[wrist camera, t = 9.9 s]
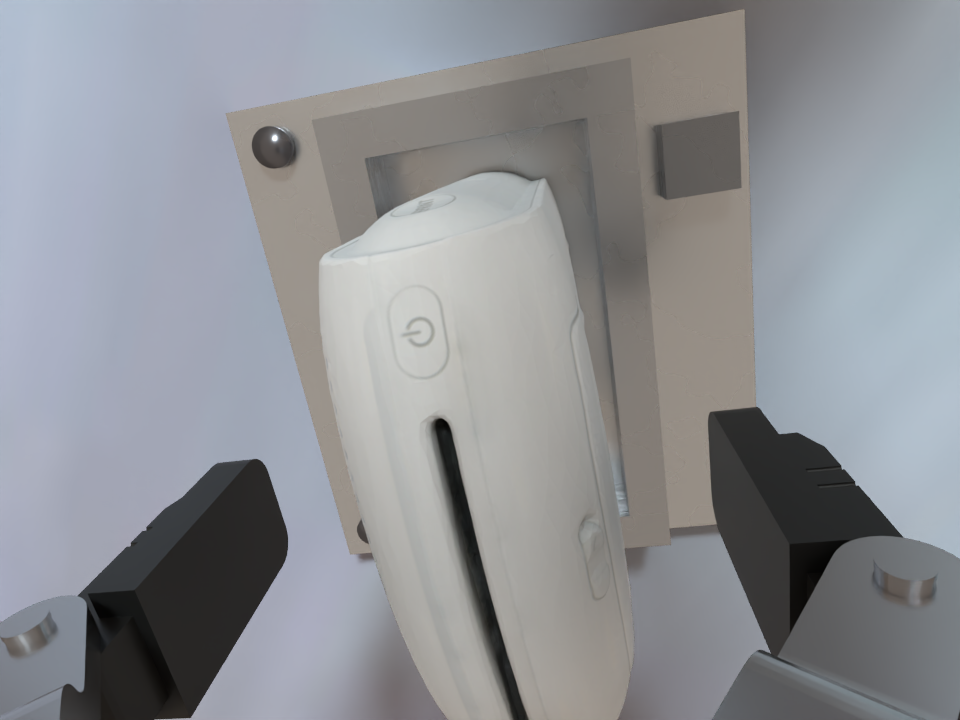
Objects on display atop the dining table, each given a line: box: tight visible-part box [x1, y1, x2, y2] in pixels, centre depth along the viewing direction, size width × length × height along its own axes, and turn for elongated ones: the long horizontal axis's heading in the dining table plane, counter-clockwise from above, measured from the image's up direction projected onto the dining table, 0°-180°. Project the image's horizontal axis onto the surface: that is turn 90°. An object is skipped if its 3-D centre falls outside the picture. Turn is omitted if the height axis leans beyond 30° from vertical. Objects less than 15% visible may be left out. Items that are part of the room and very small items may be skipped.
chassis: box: [226, 9, 756, 554], centre depth 20 cm, size 16×15×3 cm
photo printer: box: [319, 171, 634, 720], centre depth 14 cm, size 10×4×12 cm, turn 12°
